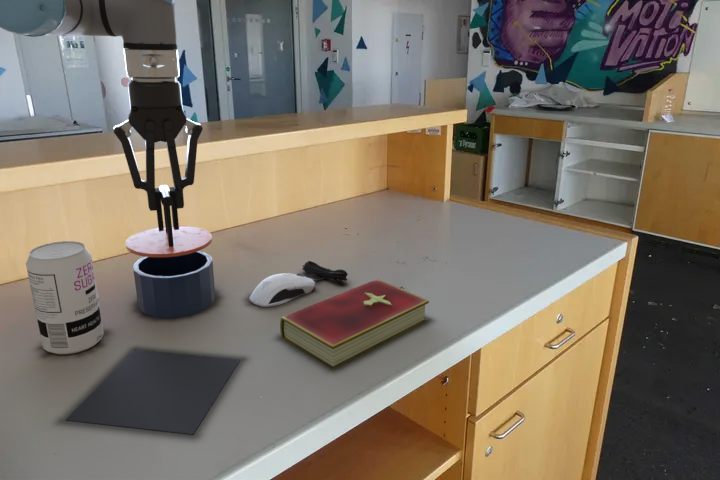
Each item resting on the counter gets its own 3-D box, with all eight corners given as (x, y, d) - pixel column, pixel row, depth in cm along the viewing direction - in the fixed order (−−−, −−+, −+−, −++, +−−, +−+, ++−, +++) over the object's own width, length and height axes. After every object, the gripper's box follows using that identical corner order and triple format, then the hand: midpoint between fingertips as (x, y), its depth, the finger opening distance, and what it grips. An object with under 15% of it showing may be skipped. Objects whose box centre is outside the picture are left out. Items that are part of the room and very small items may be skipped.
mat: (65, 422, 66) (65, 419, 65) (135, 351, 80) (134, 349, 80) (193, 437, 64) (193, 434, 63) (240, 361, 78) (240, 359, 78)
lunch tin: (139, 325, 88) (134, 282, 85) (137, 293, 99) (132, 254, 96) (220, 312, 92) (216, 271, 90) (209, 283, 103) (206, 245, 101)
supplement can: (45, 335, 84) (27, 243, 79) (104, 325, 87) (90, 237, 82) (40, 362, 77) (19, 264, 72) (104, 351, 80) (89, 255, 75)
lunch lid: (126, 265, 83) (118, 205, 80) (126, 236, 95) (119, 183, 92) (218, 255, 88) (214, 198, 85) (206, 229, 100) (202, 177, 97)
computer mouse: (237, 297, 98) (236, 277, 96) (314, 270, 110) (314, 251, 109) (272, 317, 91) (271, 295, 90) (349, 285, 104) (350, 265, 102)
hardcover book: (280, 339, 85) (279, 314, 83) (375, 298, 99) (375, 276, 97) (332, 371, 77) (332, 345, 75) (427, 322, 91) (429, 299, 89)
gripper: (99, 81, 77) (120, 240, 85) (207, 81, 82) (217, 230, 90) (101, 77, 83) (120, 225, 91) (201, 77, 89) (210, 217, 97)
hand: (168, 227), depth 91 cm, fingers closed on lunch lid, 2 cm apart
